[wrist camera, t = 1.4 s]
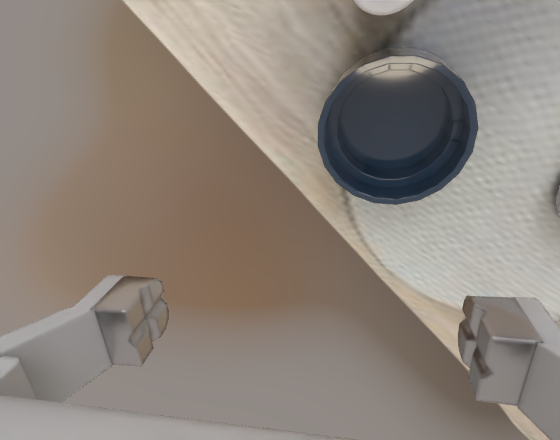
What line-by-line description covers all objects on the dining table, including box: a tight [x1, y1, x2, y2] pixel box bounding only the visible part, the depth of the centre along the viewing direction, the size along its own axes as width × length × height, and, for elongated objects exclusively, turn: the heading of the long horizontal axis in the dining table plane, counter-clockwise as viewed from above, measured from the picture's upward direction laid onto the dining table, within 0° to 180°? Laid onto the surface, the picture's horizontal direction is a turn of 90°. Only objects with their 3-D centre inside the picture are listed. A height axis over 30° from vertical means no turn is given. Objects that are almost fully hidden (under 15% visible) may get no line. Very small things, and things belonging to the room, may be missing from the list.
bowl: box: [318, 47, 478, 205], centre depth 34 cm, size 13×13×6 cm
